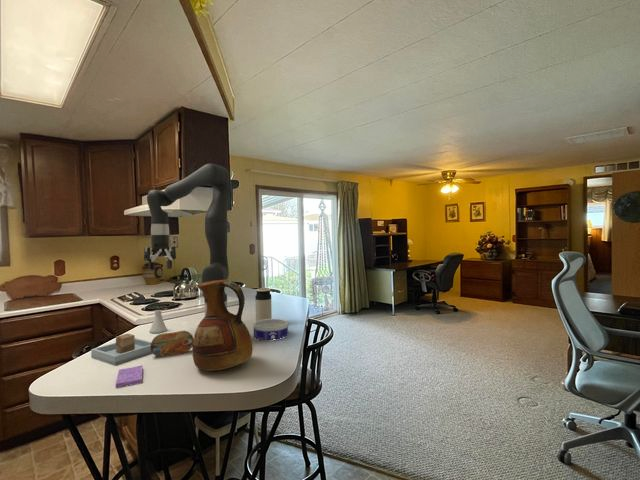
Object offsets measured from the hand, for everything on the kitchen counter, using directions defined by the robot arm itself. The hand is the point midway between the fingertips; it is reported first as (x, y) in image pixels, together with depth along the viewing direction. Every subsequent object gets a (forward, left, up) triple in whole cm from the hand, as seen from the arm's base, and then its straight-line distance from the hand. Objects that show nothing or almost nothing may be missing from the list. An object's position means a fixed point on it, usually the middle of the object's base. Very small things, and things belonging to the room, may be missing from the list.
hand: (160, 269), depth 148 cm
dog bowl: (-45, -23, -30) cm, 59 cm away
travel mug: (-30, -36, -30) cm, 56 cm away
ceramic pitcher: (-52, +12, -30) cm, 61 cm away
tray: (-10, +22, -30) cm, 39 cm away
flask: (+7, -3, -30) cm, 31 cm away
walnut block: (-10, +22, -29) cm, 38 cm away
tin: (-26, +13, -30) cm, 42 cm away
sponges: (-33, +33, -31) cm, 56 cm away
